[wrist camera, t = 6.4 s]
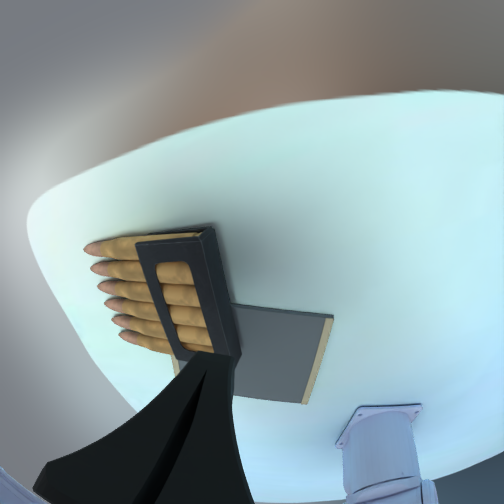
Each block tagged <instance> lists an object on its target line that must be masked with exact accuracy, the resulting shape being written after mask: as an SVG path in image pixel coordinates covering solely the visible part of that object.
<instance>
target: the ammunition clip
mask: <svg viewBox="0 0 504 504" xmlns="http://www.w3.org/2000/svg"><path fill="white" fill-rule="evenodd" d="M83 250H84V252H86V253H87V254H90V255H93V256H99V257H111V258H114V259H119V260H120V261H112V262H101V263H97V264H95V265H93V266H91V267H90V269H91V271H93V272H94V273H96V274H98V275H102V276H108V277H114V278H119V279H122V280H126V281H106V282H103V283H100V284H98V285H97V287H98V289H100V290H101V291H103V292H105V293H108V294H111V295H117V296H121V297H126V298H128V299H111V300H107V301H106V302H104V304H105V305H106V306H107V307H108V308H110V309H112V310H114V311H117V312H121V313H125V314H129V315H133V316H134V317H133V316H116V317H113V318H112V319H111V320H112V321H113V322H114V323H115V324H117V325H118V326H120V327H123V328H126V329H130V330H133V331H137V332H132V331H127V332H121V333H119V334H118V335H119V336H120V337H121V338H122V339H123V340H125V341H127V342H129V343H132V344H135V345H139V346H142V347H145V348H148V349H150V350H152V351H156V352H160V353H165V354H170V355H174V356H175V358H176V360H180V361H185V362H188V361H189V360H190V359H191V358H192V356H193V355H194V354H195V352H197V351H198V350H199V351H205V352H211V353H216V354H222V355H229V356H232V357H233V358H235V368H236V366H237V364H238V362H239V360H240V358H241V355H242V352H241V348H240V343H239V339H238V335H237V331H236V326H235V322H234V318H233V313H232V309H231V304H230V300H229V296H228V291H227V287H226V282H225V277H224V273H223V268H222V263H221V259H220V254H219V249H218V244H217V240H216V235H215V230H214V229H213V228H212V227H211V226H210V227H201V228H192V229H183V230H175V231H166V232H158V233H150V234H148V235H147V236H132V237H119V238H116V239H113V240H107V241H101V242H95V243H92V244H89V245H87V246H86V247H85V248H84V249H83Z"/></svg>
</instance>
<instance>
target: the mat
mask: <svg viewBox="0 0 504 504" xmlns="http://www.w3.org/2000/svg"><path fill="white" fill-rule="evenodd" d="M230 304H231V303H230ZM231 309H232V313H233V318H234V322H235V326H236V331H237V335H238V339H239V343H240V348H241V352H242V355H241V358H240V360H239V362H238V364H237V366H236V368H235V377H234V393H233V395H235V396H242V397H248V398H256V399H263V400H272V401H281V402H291V403H301V404H306V405H307V403H308V400H309V398H310V395H311V392H312V389H313V386H314V383H315V380H316V377H317V374H318V371H319V368H320V365H321V362H322V358H323V355H324V352H325V349H326V345H327V342H328V338H329V335H330V332H331V328H332V324H333V321H334V316H333V315H326V314H316V313H306V312H296V311H287V310H278V309H270V308H262V307H254V306H246V305H238V304H231ZM171 358H172V363H173V368H174V373H175V377H176V376H177V374H178V373H179V372H180V371H181V370H182V369H183V368H184V366H185V365H186V364H187V363H188V362H185V361H180V360H176V358H175V356H174V355H171Z"/></svg>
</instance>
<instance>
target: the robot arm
mask: <svg viewBox="0 0 504 504" xmlns="http://www.w3.org/2000/svg"><path fill="white" fill-rule="evenodd" d="M234 377H235V358H233V357H232V356H229V355H222V354H216V353H211V352H205V351H199V350H198V351H197V352H195V354H194V355H193V356H192V358H191V359H190V360H189V361H188V363H187V364H186V365H185V366H184V368H183V369H182V370H181V371H180V372H179V373H178V374H177V376H176V377H175V378H174V379H173V380H172V381H171V382H170V383H169V384H168V385H167V386H166V387H165V388H164V389H163V390H162V391H161V392H160V393H159V394H158V395H157V396H156V397H155V398H154V399H153V400H152V401H151V402H150V403H149V404H148V405H147V406H145V407H144V408H143V409H142V410H141V411H140V412H138V413H137V414H136V415H135V416H133V417H132V418H131V419H130V420H128V421H127V422H126V423H124V424H123V425H121V426H120V427H118V428H117V429H115V430H114V431H113V432H111V433H109V434H108V435H106V436H105V437H103V438H102V439H99V440H98V441H96V442H94V443H92V444H90V445H88V446H86V447H84V448H82V449H80V450H78V451H76V452H74V453H71V454H69V455H66V456H63V457H61V458H58V459H56V460H53V461H50V462H47V464H46V465H45V467H44V468H43V469H42V471H41V473H40V475H39V476H38V478H37V480H36V482H35V484H34V486H33V491H34V492H35V493H37V494H38V495H39V496H41V497H42V498H43V499H45V500H46V501H48V502H49V503H51V504H255V503H254V501H253V498H252V495H251V492H250V489H249V486H248V483H247V480H246V477H245V474H244V470H243V467H242V463H241V459H240V455H239V450H238V446H237V441H236V435H235V429H234V422H233V414H232V400H233V393H234ZM422 409H423V407H422V405H410V406H392V407H361V408H358V409H357V411H356V412H355V414H354V416H353V417H352V419H351V421H350V422H349V424H348V426H347V427H346V429H345V430H344V432H343V434H342V435H341V437H340V438H339V440H338V441H337V443H336V444H335V448H337V449H343V486H344V490H345V492H346V493H347V496H346V502H345V503H343V504H438V497H437V492H436V488H435V484H434V482H432V481H430V480H429V479H426V480H424V481H423V480H422V479H421V476H420V469H419V463H418V457H417V452H416V447H415V442H414V437H413V432H412V427H411V423H412V421H413V420H414V419H415V418H416V417H417V415H418V414H419V413H420V411H421V410H422ZM0 504H47V503H46V502H44V501H43V500H41V499H40V498H38V497H37V496H36V495H34V494H33V493H32V492H30V491H29V490H27V489H26V488H25V487H23V486H22V485H21V484H20V483H18V482H17V481H16V480H15V479H13V478H12V477H11V476H10V475H9V474H7V473H6V472H5V470H4V469H3V468H2V467H1V466H0Z"/></svg>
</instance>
